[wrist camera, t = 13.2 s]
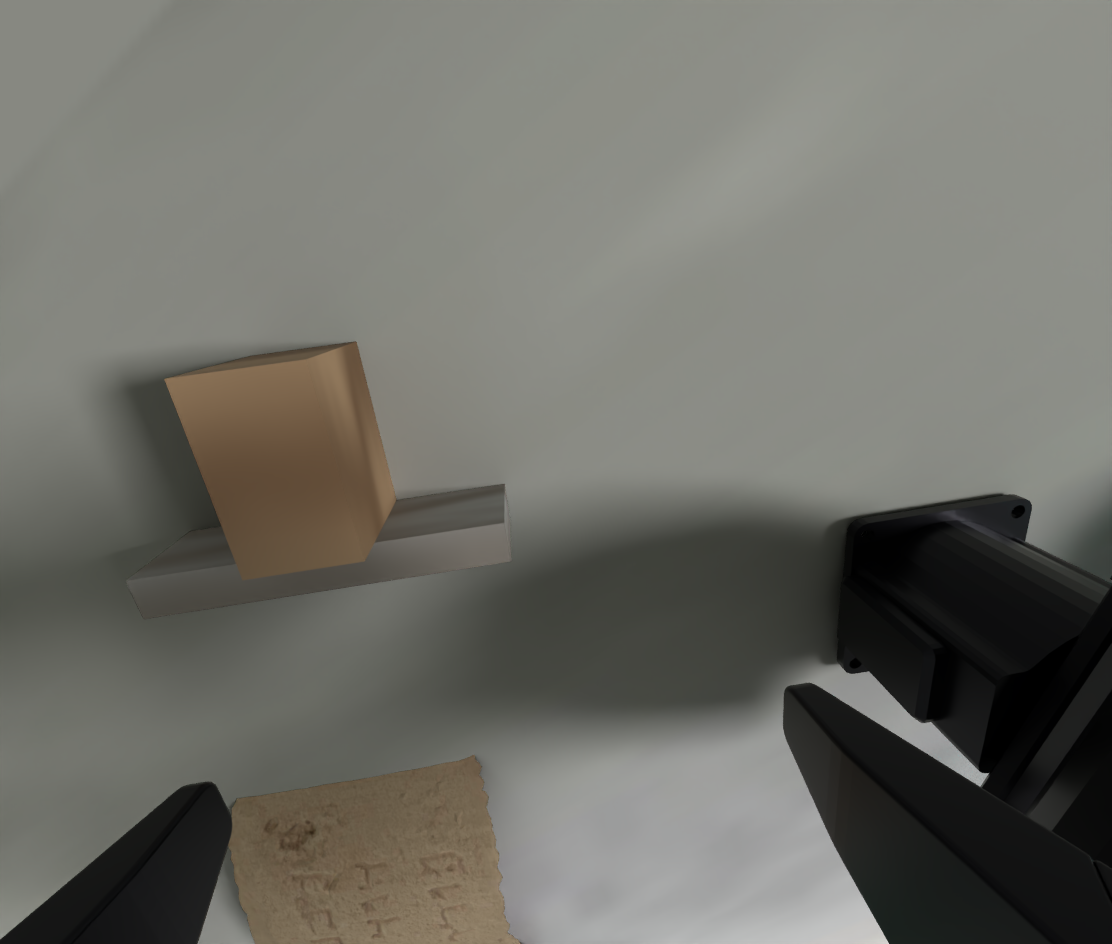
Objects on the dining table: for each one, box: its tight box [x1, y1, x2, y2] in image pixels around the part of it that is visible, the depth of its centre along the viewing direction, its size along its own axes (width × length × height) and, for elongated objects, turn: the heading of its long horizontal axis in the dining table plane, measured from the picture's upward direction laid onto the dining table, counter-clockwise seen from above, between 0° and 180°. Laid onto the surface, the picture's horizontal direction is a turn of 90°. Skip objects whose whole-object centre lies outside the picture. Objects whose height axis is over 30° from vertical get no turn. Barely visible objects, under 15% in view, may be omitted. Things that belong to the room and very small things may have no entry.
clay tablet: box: [228, 755, 521, 944], centre depth 22 cm, size 14×10×3 cm
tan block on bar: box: [125, 342, 511, 619], centre depth 14 cm, size 6×10×4 cm, turn 97°
